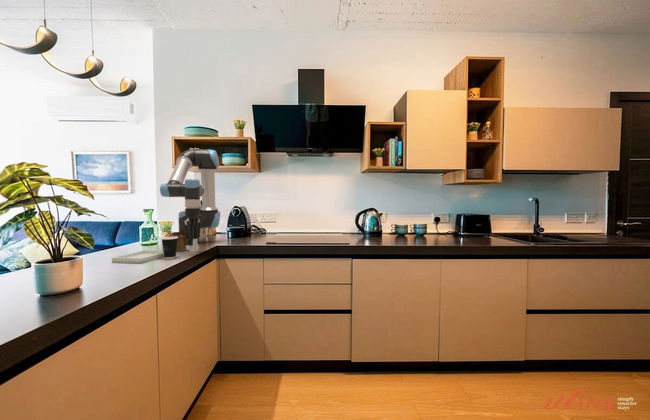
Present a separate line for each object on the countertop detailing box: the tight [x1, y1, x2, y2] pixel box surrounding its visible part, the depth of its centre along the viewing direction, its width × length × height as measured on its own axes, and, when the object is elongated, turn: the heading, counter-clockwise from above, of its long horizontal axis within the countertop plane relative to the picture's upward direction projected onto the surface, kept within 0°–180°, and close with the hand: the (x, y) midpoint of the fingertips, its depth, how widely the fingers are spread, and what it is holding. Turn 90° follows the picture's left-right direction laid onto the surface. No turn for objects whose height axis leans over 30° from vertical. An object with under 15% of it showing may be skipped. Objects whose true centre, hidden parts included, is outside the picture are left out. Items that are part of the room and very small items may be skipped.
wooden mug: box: [170, 231, 188, 253], centre depth 165 cm, size 9×14×18 cm, turn 112°
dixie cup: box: [160, 236, 178, 260], centre depth 145 cm, size 8×8×11 cm
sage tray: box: [111, 249, 165, 265], centre depth 143 cm, size 20×16×2 cm
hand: (193, 250), depth 152 cm, fingers closed
